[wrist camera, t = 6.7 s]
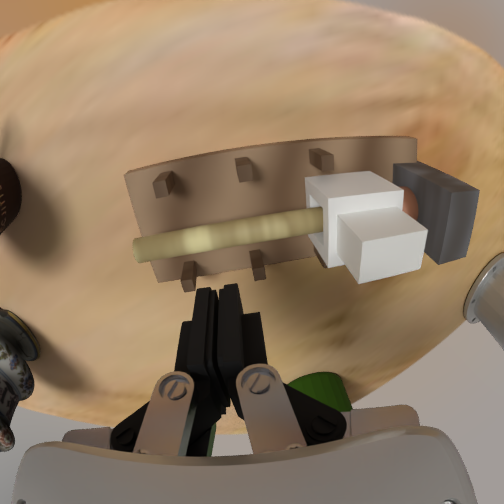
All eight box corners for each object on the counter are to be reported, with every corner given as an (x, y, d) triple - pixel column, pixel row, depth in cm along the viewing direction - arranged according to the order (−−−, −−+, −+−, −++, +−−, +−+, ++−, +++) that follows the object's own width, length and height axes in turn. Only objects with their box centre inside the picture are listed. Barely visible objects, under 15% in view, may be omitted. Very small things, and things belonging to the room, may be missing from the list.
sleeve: (369, 170, 18) (437, 210, 12) (367, 225, 20) (423, 281, 14) (304, 177, 18) (353, 223, 11) (307, 235, 20) (347, 301, 14)
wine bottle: (340, 394, 36) (398, 575, 8) (283, 410, 36) (324, 598, 8) (342, 363, 32) (419, 586, 4) (274, 382, 32) (324, 617, 4)
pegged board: (413, 136, 19) (482, 160, 12) (406, 231, 23) (458, 279, 16) (128, 170, 18) (81, 211, 11) (160, 274, 22) (142, 346, 16)
